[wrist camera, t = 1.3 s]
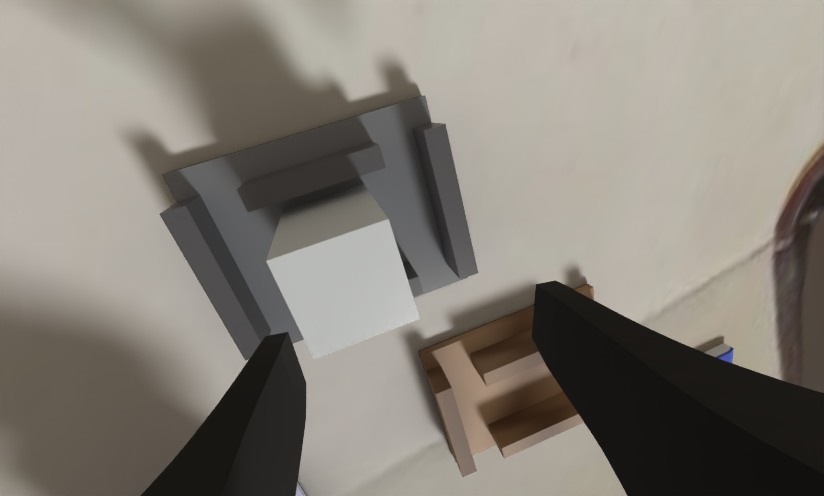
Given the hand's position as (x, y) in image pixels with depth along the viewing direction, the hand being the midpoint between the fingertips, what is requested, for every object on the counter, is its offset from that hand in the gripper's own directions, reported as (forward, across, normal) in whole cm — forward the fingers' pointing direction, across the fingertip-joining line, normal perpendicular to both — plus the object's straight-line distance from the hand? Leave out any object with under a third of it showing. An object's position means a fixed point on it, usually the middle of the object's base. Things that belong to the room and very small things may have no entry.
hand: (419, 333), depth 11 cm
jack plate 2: (+8, -7, +13) cm, 17 cm away
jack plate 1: (+9, +2, +1) cm, 10 cm away
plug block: (+9, +2, 0) cm, 9 cm away
